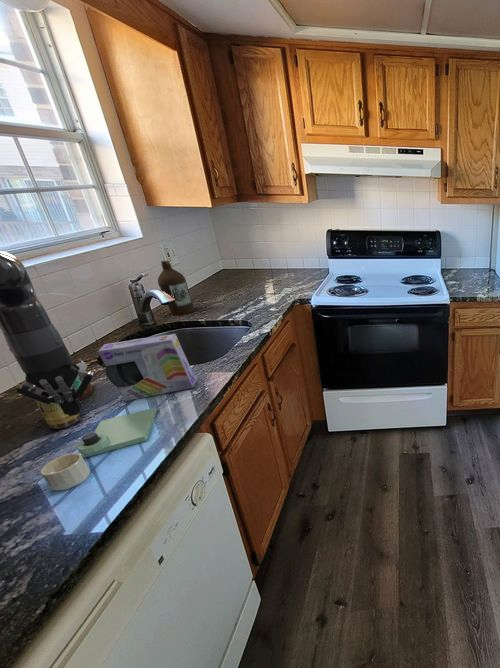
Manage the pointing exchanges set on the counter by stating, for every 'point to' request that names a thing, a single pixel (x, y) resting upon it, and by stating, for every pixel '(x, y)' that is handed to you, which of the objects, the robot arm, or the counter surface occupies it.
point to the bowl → (65, 471)
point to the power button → (90, 439)
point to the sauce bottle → (56, 415)
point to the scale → (120, 432)
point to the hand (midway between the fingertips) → (75, 413)
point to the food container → (78, 382)
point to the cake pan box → (147, 366)
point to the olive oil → (175, 289)
